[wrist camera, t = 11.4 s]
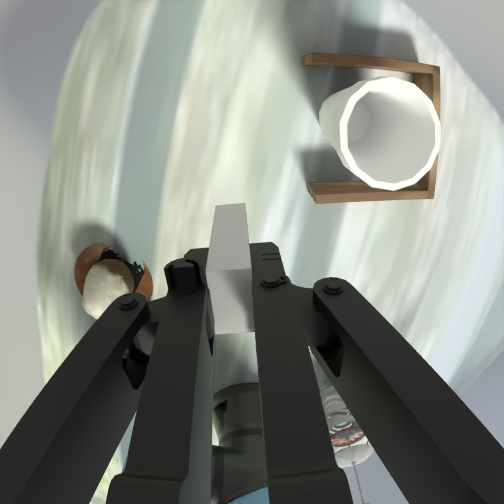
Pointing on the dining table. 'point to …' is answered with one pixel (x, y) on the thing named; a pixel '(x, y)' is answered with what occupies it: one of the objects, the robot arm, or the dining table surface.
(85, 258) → the white and brown lump
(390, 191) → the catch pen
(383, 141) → the foam cup
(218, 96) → the dining table surface
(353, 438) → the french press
